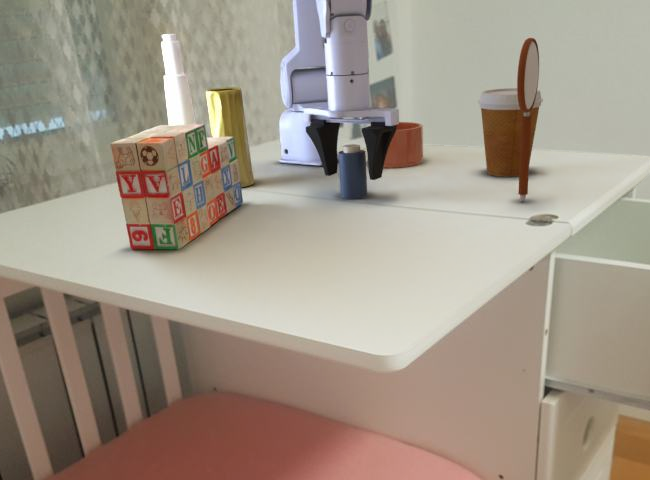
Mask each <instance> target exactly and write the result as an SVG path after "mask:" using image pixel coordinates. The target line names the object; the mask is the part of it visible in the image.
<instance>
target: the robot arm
mask: <svg viewBox="0 0 650 480" xmlns="http://www.w3.org/2000/svg"><path fill="white" fill-rule="evenodd" d="M291 2H292V15H293V16H292V17H293V28H294V43H295V45H294V47H293V48H292V50H290V51H289V52H288V53H287V54H286V55H285V56H284V57H283V58H282V60H281V62H280V64H279V65H280V67H279V68H280V75H279V76H280V77H279V83H280V95H281V99H282V104H283V105H284V106H285V107H286V108H287V109H285V110H284V111H283V112H282V113H281V115H280V118H279V121H278V122H279V123H278V131H279V141H280V142H279V143H280V151H281V158H280V159H279V160H278V162H279V163H283V164H294V165H306V166H318V167H322V168H323V171H324V175H325V176H326V177H331V176H333V175H336V174H338V170H339V157H338V140H339V132H340V127H341V124H357V125H358V124H359V125H368V126H369V127H368V126H366V127H362V128H361V134H362V137H363V140H364V145H365V149H366V156H367V155H368V160H367V169H368V176H369V180H370V181H376V180H378V179H381V178H383V172H384V171H383V170H384V168H383V166H384V162H385V158H386V154H387V151H388V148H389V145H390V143H391V141H392V138H393V136H394V134H395V132H396V130H397V126H396V125H397V124H399V122H400V109H399V108H389V107H379V106H371V88H370V87H371V86H370V65H369V63H370V62H369V41H368V40H369V37H368V21H369V20H370V19H371V17H372V16H371V15H372V11H373V10H372V9H373V0H292V1H291ZM370 125H371V126H370Z"/></svg>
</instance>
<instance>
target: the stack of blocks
mask: <svg viewBox="0 0 650 480" xmlns="http://www.w3.org/2000/svg"><path fill="white" fill-rule="evenodd" d="M110 148H111V153H112V158H113V163H114V167H115V176H116V182H117V187H118V193H119V197H120V199H121V203H122V204H121V205H122V208H123V209H122V210H123V212H124V213H123V214H124V219H125V227H126V231H127V235H128V240H129V241H128V242H129V246H130V249H131V250H180V249H182V248H183V247H185V245H187V244H188V243H190V242H192V241H193V240H194V239H196V238H197V237H199V236H200V235H201V234H203V233H204V232H205V231H207V230H208V229H210V227H211V226H212V225H214V224H215V223H216V222H218V221H219V220H220V219H222V218H223V217H225V216H226V215H227V214H229V213H231V212H232V211H233V210H234V209H237V208H238V207H239V206H240V205H242V204H243V203H244V199H243V190H242V188H241V182H240V173H239V165H238V160H237V156H236V149H235V141H234V137H212V136H210V137H208V136H207V129H206V124H205V123H196V124H191V125H169V124H160V125H157V126H154V127H152V128H148V129H145V130H143V131H140V132H139V133H135V134H133V135H130V136H127V137H125V138H122V139H119V140H116V141H112V142H111V143H110Z"/></svg>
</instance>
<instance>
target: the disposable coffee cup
mask: <svg viewBox="0 0 650 480" xmlns="http://www.w3.org/2000/svg"><path fill="white" fill-rule="evenodd" d="M542 102H544V99H543V98H542V94H541V90H540V89H538V88H537V94H536V99H535V102H534V105H533V108H532V110H531V111H530V116H531V136H530V156H529V164H530V163H531V158H532V157H531V156H532V151H533V147H534V140H535V134H536V130H537V129H536V128H537V122H538V117H539V111H540V107H541V106H542ZM477 103H478V105H479V108H480V112H481V122H482V133H483V145H484V154H485V164H486V173H487V174H488V175H490V176H494V177H505V178H507V177H509V178H510V177H519V169H520V146H521V124H522V116H524V112H522V111H521V110H520V107H519V103H518V95H517V87H511V88H510V87H509V88H495V89H487V90H482V91H481V93H480V97H479V99H478V101H477Z"/></svg>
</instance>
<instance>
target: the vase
mask: <svg viewBox="0 0 650 480" xmlns="http://www.w3.org/2000/svg"><path fill="white" fill-rule="evenodd" d="M205 97H206V104H207V110H208V119H209V127H210V133H211V137H234V141H235V149H236V156H237V160H238V165H239V173H240V182H241V189H242V188H246V187H249V186H252V185H254V184H255V183H256V181H255V178H254V172H253V165H252V158H251V151H250V144H249V137H248V130H247V123H246V115H245V108H244V97H243V91H242V88H241V87H239V86H228V87H215V88H208V89H206V90H205Z"/></svg>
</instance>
